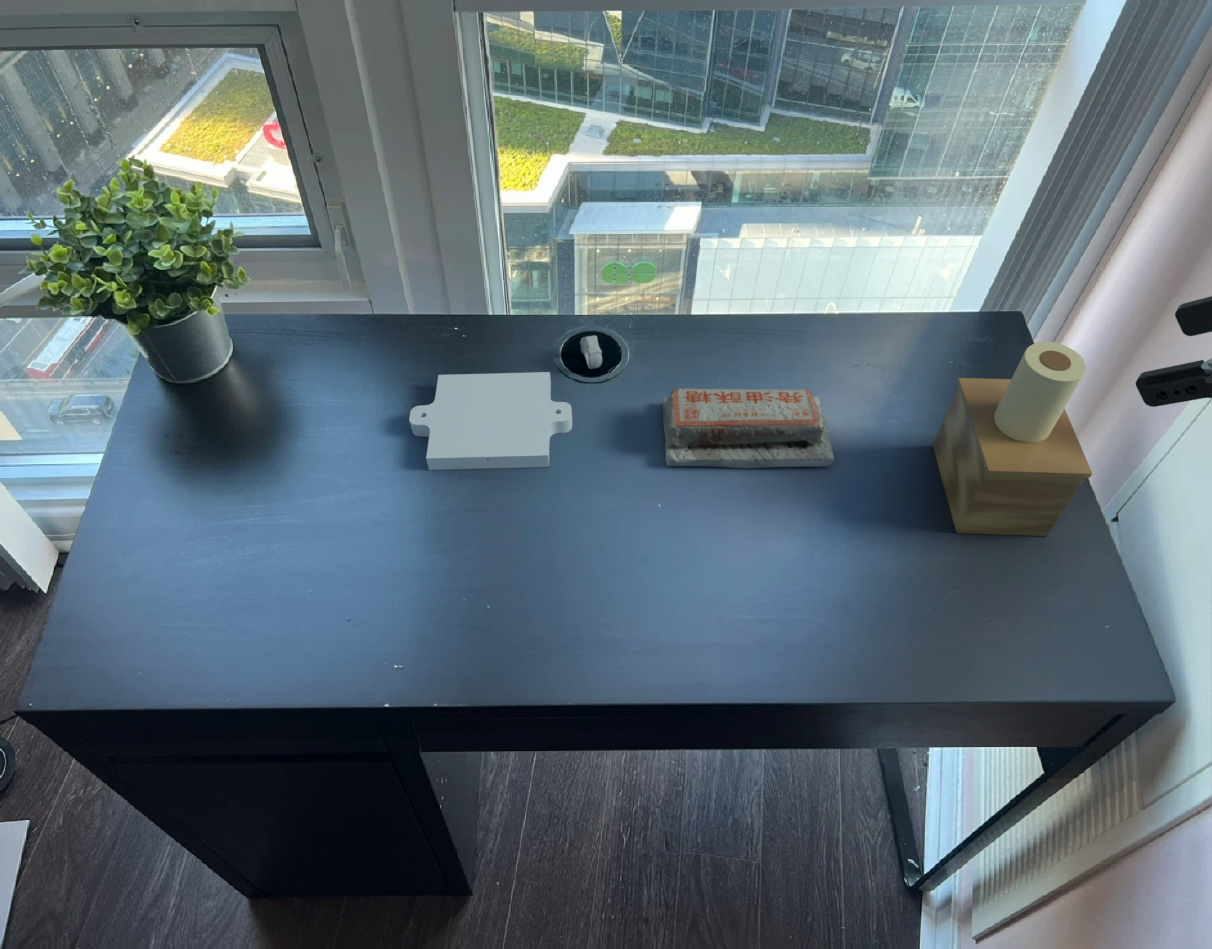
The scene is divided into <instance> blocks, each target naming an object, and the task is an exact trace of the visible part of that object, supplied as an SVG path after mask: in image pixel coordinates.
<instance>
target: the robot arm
mask: <svg viewBox="0 0 1212 949" xmlns="http://www.w3.org/2000/svg"><path fill="white" fill-rule="evenodd" d="M1174 318H1175V320H1176V321H1177V324H1178V326H1179V328H1180V330H1181V332H1182V334H1184V335H1185V336H1187V337H1194V336H1195V337H1196V336H1199V335H1204V334H1208V333H1212V295H1211V296H1207V297H1204V298H1199V299H1195V300H1192V301H1188V302H1184V303H1181V304H1180V305H1179V306H1178V307H1177V309H1176V310H1175V313H1174ZM1135 387H1136V389H1137V391H1138V393H1139V396H1140V397H1141V399H1142V401H1143V403H1144V404H1145V406H1148V407H1152V408H1154V407H1155V408H1156V407H1161V406H1167V405H1174V404H1178V403H1185V402H1189V401H1197V400H1202V399H1212V357H1211V358H1209V359H1207V360H1206V361H1204V359H1200V360H1195V361H1190V362H1186V363H1185V362H1184V363H1181V364H1180V363H1179V364H1176V365H1175V364H1174V365H1171V366H1166V367H1162V368H1157V369H1152V370H1147V371H1143V372H1140V374H1139V376H1138V377H1137V379H1136V381H1135Z"/></svg>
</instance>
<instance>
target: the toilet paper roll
mask: <svg viewBox="0 0 1212 949" xmlns="http://www.w3.org/2000/svg"><path fill="white" fill-rule="evenodd" d="M1084 359H1085V358H1084V357H1082V355H1080V353H1078V352H1077V351H1076V350H1074V349H1073V348H1071V347H1069V346H1067V345H1064V344H1061V343H1058V342H1053V341H1040V342H1035V343H1032V344H1030V345H1029V346H1028V347H1026V348H1025V351H1024V352H1023V355H1022V357H1021V359H1020V361H1019V364H1017V367H1016V369H1015V371H1014V373H1013V375H1012V377H1011V378H1010V379H1011V381H1010V383H1009V385H1008V387H1007V389H1006V391H1005V393H1004V395H1003V397H1002V399H1001V401H1000V404H999V406H998V408H997V410H996V412H995V414H994V421H995V424H996V425H997V427H998V428H999V430H1000V431H1001V432H1003V433H1004V434H1005V435H1007V436H1008V437H1010V438H1012V439H1014V440H1017V441H1021V442H1026V443H1035V442H1040V441H1042V440H1044V439H1046V438H1047V437H1048V436H1049V434H1050V433H1051V431H1052V429H1053V427H1054V426H1055V424H1056V422H1057V421H1058V419H1059V417H1060V415H1061V414H1062V412H1063V410H1064V408H1065V409H1066V407H1067V405H1068V403H1069V402H1070V399H1071V398H1072V397H1073V395H1074V393H1075V392H1076V390H1077V388H1078V386H1079V385H1080V383H1081V381H1082V379H1083V378H1084V376H1085V374H1086V373H1087V372H1086V371H1087V364H1086V361H1085V360H1084Z"/></svg>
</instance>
